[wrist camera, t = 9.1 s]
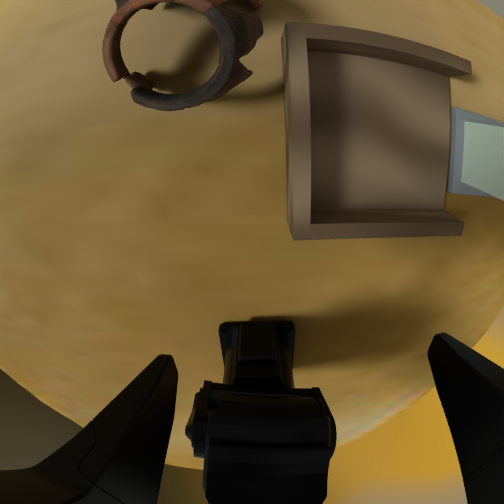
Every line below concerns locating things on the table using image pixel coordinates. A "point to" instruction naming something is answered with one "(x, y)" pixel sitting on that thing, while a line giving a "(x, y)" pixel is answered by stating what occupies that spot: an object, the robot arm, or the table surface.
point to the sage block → (484, 158)
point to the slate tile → (458, 148)
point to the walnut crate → (366, 134)
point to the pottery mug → (230, 68)
